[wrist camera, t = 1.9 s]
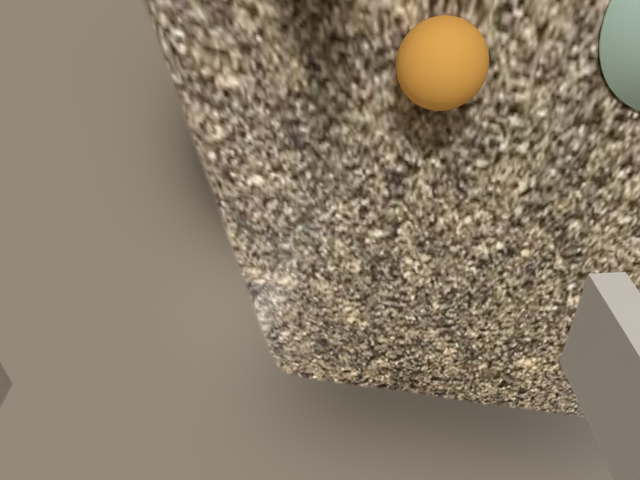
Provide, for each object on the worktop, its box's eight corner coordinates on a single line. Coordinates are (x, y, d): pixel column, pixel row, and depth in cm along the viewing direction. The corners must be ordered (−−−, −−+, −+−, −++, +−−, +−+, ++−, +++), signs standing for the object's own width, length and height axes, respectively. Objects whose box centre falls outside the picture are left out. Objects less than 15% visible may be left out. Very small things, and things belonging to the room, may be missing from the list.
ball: (494, 42, 36) (520, 73, 31) (433, 105, 38) (448, 143, 34) (434, -16, 34) (452, 10, 29) (373, 55, 36) (381, 88, 32)
